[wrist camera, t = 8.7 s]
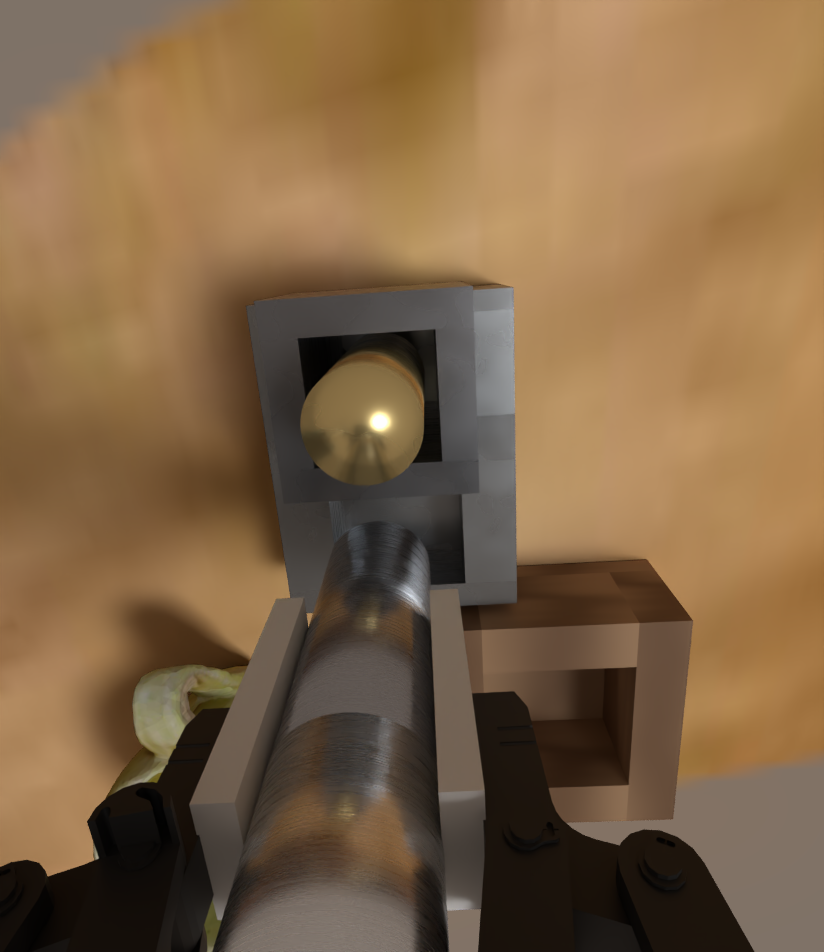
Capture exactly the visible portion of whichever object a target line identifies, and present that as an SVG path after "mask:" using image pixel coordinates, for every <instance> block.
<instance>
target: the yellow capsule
mask: <svg viewBox="0 0 824 952" xmlns="http://www.w3.org/2000/svg"><path fill="white" fill-rule="evenodd" d="M424 381H425V372H424V365H423V362H422V359H421V357H420V355H419V353H418V351H417V350H416V349H415V347H414V346H413V345H412V344H411V343H410V342H408V341H407V340H406V339H404V338H402V337H400V336H398V335H395V334H392V333H373V334H369V335H367V336H364V337H363V338H361V339H359V340H358V341H357V342H355V343H354V344H353V345H352V346H351V348H350V349H349V350H348V351H347V352H346V353H345V354H344V355H343V356H342V357H341V358H340V359H339V360H338V361H337V362H336V363H335V365H334V366H333V367H332V368H331V369H330V370H329V371H328V372H327V373H326V374H325V375H324V376H323V377H322V378H321V379H320V380H319V382H318V383H317V384H316V385H315V386H314V387H313V388H312V390H311V391H310V392H309V394H308V396H307V398H306V400H305V402H304V405H303V408H302V412H301V421H300V426H301V435H302V439H303V442H304V445H305V448H306V450H307V452H308V454H309V455H310V457H311V458H312V460H313V461H314V462H315V463H316V464H317V466H318V467H320V468H321V469H322V470H323V471H324V472H325V473H327V474H328V475H330V476H331V477H333V478H335V479H337V480H339V481H342V482H344V483H348V484H352V485H367V486H368V485H376V484H380V483H384V482H386V481H389V480H391V479H393V478H395V477H396V476H398V475H399V474H401V473H402V472H403V471H404V470H405V469H407V468H408V467H409V465H410V464H411V463H412V462H413V460H414V459H415V457H416V456H417V454H418V452H419V449H420V447H421V443H422V440H423V433H424Z"/></svg>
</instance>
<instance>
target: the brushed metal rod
mask: <svg viewBox="0 0 824 952" xmlns="http://www.w3.org/2000/svg"><path fill="white" fill-rule="evenodd" d="M430 590H431V580H430V563H429V557H428V554H427V551H426V549H425V547H424V545H423V544H422V542H421V541H420V540H419V538H418V537H417V536H416V535H415V534H414V533H412V532H411V531H410V530H408V529H407V528H405V527H403V526H401V525H398V524H395V523H392V522H387V521H370V522H365V523H361V524H359V525H356V526H354V527H352V528H351V529H349V530H348V531H346V532H345V533H344V534H343V535H342V536H341V537H340V538H339V539H338V540H337V542H336V543H335V545H334V547H333V549H332V551H331V554H330V558H329V561H328V565H327V568H326V571H325V575H324V578H323V581H322V585H321V588H320V591H319V595H318V598H317V601H316V605H315V608H314V612H313V615H312V618H311V622H310V625H309V628H308V632H307V635H306V638H305V642H304V645H303V649H302V652H301V655H300V659H299V662H298V665H297V669H296V672H295V675H294V679H293V682H292V685H291V689H290V692H289V696H288V699H287V702H286V706H285V709H284V712H283V716H282V719H281V722H280V726H279V729H278V733H277V736H276V739H275V743H274V746H273V749H272V753H271V756H270V759H269V763H268V766H267V769H266V773H265V776H264V780H263V783H262V786H261V790H260V793H259V796H258V800H257V803H256V806H255V810H254V813H253V817H252V820H251V823H250V827H249V830H248V833H247V837H246V840H245V843H244V847H243V850H242V853H241V857H240V860H239V864H238V867H237V870H236V874H235V877H234V880H233V884H232V887H231V890H230V894H229V897H228V900H227V904H226V907H225V911H224V914H223V917H222V921H221V924H220V927H219V931H218V934H217V937H216V941H215V944H214V948H213V951H212V952H449V940H448V938H449V937H448V918H447V897H446V878H445V858H444V849H443V843H442V837H441V822H440V808H439V793H438V771H437V748H436V726H435V703H434V680H433V658H432V635H431V613H430Z"/></svg>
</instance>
